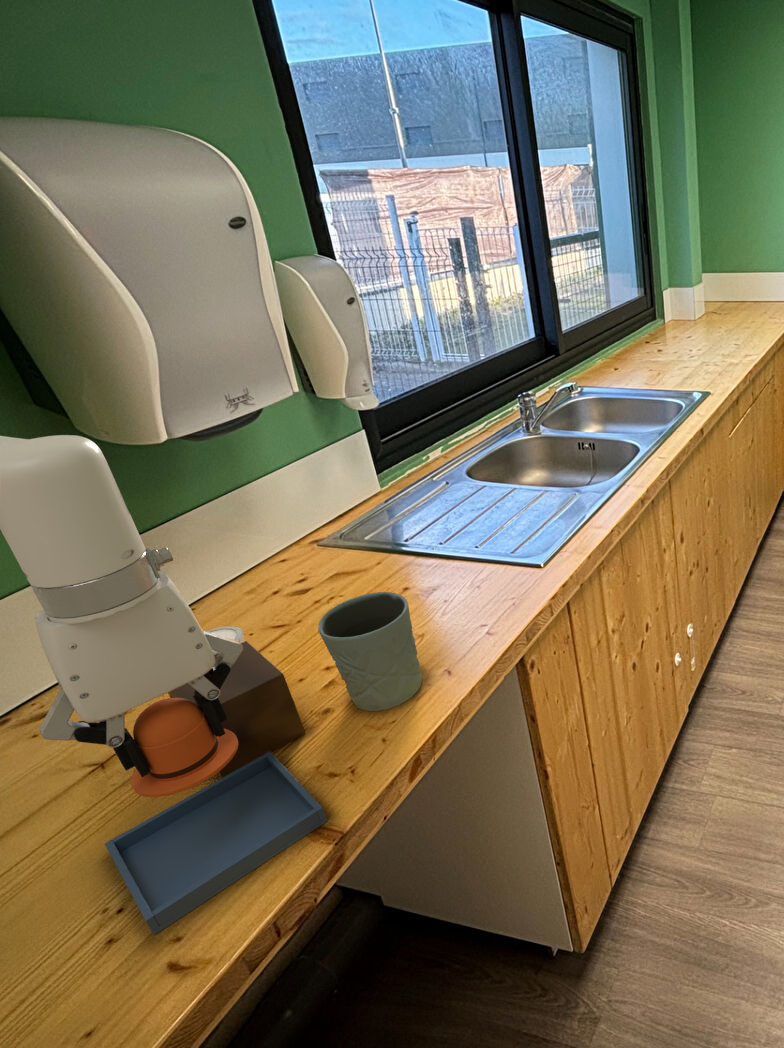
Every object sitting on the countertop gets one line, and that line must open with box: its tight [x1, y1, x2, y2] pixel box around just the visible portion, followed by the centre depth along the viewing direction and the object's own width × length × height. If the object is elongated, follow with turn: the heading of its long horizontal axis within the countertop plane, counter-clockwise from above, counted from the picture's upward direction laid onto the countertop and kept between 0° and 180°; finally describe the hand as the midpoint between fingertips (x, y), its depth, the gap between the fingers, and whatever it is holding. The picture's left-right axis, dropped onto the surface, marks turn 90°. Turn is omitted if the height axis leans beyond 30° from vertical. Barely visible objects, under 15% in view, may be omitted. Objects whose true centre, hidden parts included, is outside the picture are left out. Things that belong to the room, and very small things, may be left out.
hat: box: [130, 697, 238, 798], centre depth 65 cm, size 8×8×7 cm
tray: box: [104, 751, 329, 936], centre depth 71 cm, size 15×13×2 cm
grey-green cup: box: [317, 591, 423, 712], centre depth 89 cm, size 10×10×12 cm
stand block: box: [167, 640, 306, 779], centre depth 83 cm, size 9×11×9 cm
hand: (179, 747), depth 66 cm, fingers closed on hat, 5 cm apart
